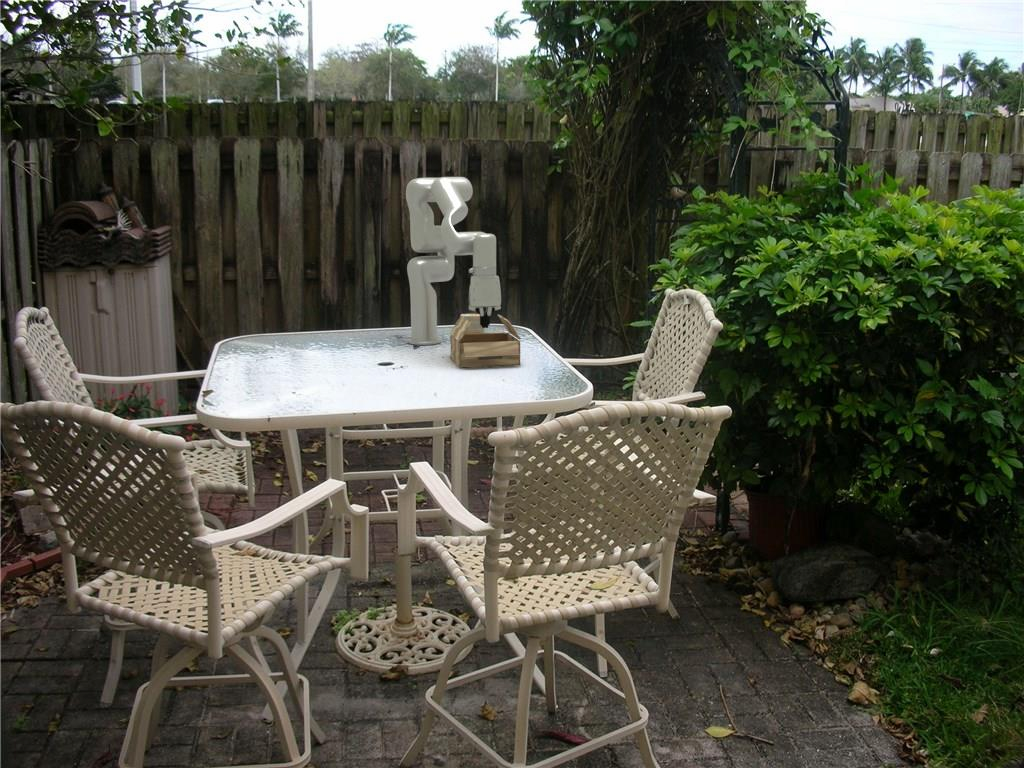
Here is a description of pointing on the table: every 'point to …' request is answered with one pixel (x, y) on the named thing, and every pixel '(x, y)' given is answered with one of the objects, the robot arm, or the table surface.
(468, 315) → the supplement box
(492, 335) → the wooden crate
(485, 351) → the flap
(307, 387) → the table surface
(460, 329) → the flap
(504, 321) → the flap
